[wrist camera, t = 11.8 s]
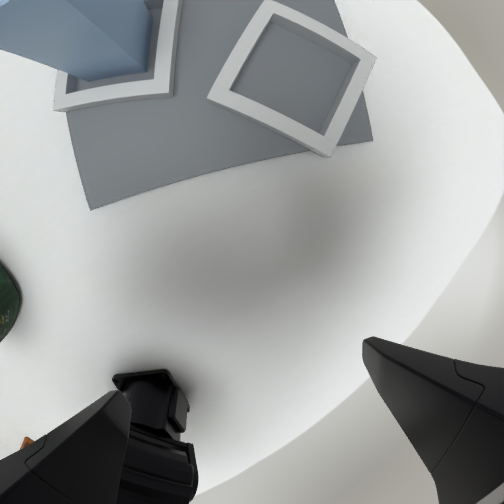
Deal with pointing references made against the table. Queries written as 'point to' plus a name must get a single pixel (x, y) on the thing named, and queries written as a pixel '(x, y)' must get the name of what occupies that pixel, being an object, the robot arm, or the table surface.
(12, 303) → the coffee jar
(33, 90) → the table surface
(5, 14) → the plug
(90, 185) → the panel
